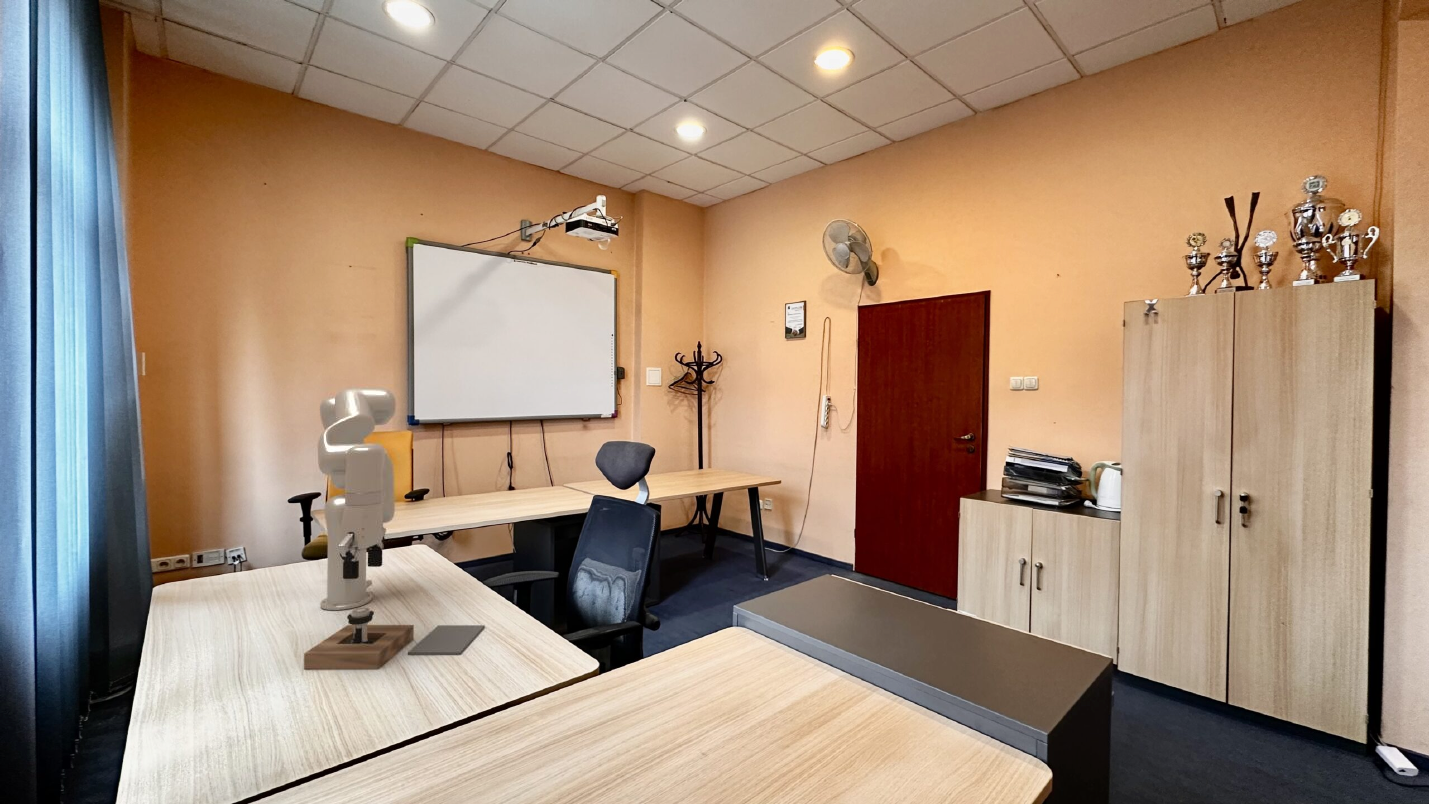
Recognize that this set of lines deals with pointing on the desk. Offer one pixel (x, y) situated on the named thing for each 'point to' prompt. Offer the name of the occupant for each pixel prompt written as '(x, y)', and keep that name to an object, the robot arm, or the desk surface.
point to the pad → (447, 640)
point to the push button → (360, 624)
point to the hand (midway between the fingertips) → (363, 572)
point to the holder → (359, 648)
